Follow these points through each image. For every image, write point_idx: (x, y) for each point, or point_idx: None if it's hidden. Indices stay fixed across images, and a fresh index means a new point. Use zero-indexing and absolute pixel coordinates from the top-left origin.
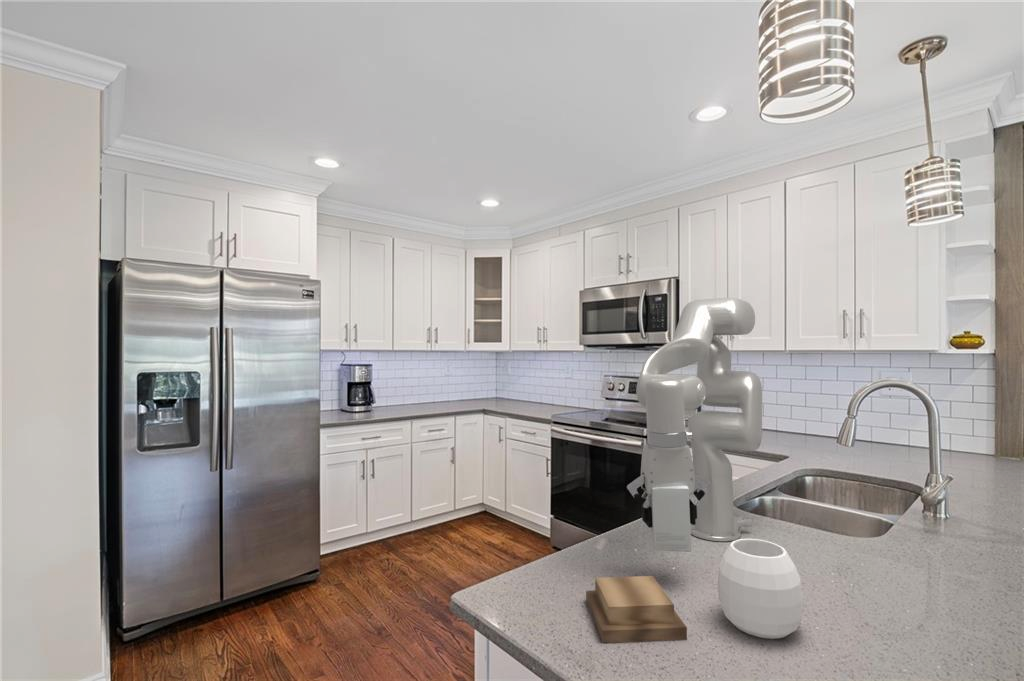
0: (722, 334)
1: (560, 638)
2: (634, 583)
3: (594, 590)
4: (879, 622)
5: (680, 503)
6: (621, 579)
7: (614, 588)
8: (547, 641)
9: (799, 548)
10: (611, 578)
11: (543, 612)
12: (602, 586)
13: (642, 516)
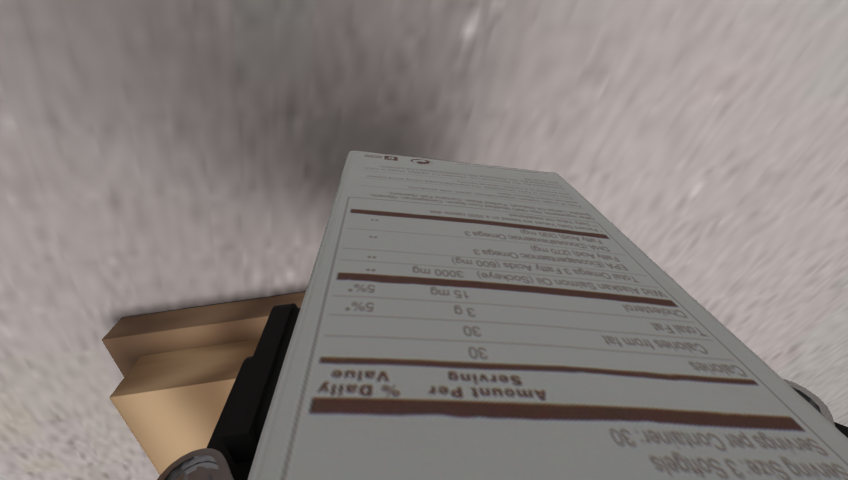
0: None
1: (102, 461)
2: None
3: (131, 337)
4: (824, 342)
5: None
6: (211, 396)
7: (192, 447)
8: (75, 472)
9: None
10: (172, 396)
11: (8, 379)
12: (150, 440)
13: (242, 379)
